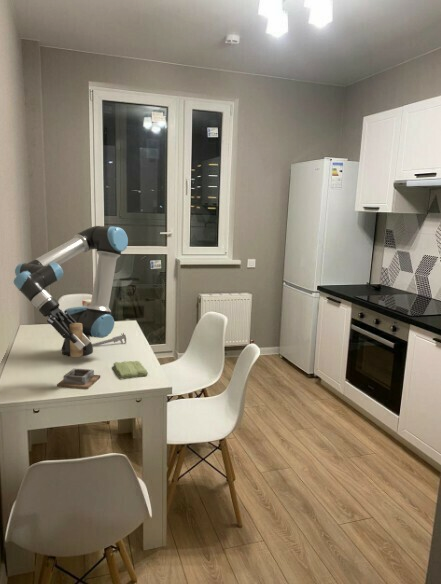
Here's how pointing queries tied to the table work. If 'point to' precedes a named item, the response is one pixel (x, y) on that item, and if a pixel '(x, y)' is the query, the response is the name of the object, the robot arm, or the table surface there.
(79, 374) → the socket board
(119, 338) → the caliper
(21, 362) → the table surface
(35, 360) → the table surface
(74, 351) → the oak pin
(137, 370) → the washcloth
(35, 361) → the table surface
